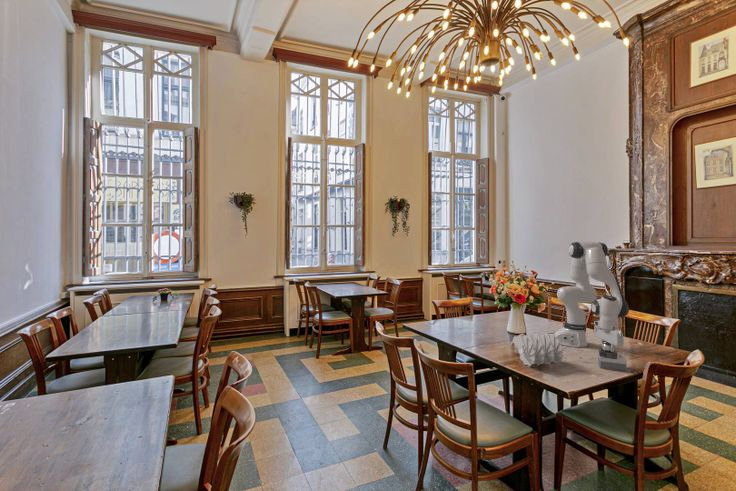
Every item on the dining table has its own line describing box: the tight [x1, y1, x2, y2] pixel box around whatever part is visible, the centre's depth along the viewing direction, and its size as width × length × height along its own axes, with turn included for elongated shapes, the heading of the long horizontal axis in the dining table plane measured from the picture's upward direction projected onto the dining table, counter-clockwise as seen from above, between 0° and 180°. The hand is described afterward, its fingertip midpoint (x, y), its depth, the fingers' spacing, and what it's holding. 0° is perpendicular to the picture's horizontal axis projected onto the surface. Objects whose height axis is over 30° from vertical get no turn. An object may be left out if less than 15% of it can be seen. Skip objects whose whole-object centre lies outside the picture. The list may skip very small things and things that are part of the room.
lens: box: [602, 341, 613, 353], centre depth 213 cm, size 5×5×7 cm
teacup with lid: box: [510, 333, 525, 355], centre depth 237 cm, size 12×9×12 cm
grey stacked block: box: [597, 347, 628, 372], centre depth 212 cm, size 12×9×9 cm
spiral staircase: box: [511, 331, 564, 368], centre depth 216 cm, size 18×18×25 cm
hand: (608, 349), depth 213 cm, fingers closed on lens, 5 cm apart
